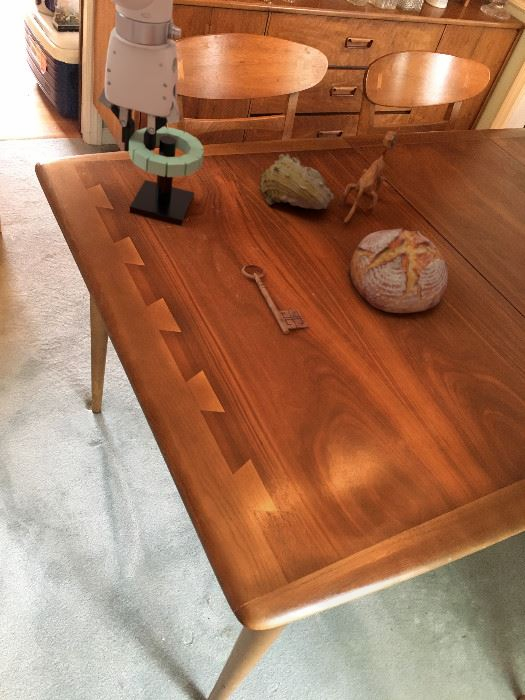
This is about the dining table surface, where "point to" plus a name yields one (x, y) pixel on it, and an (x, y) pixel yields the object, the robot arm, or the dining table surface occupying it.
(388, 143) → the dinosaur figurine
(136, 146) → the ring
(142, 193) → the post
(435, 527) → the dining table surface
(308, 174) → the seashell
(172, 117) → the robot arm
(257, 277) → the key
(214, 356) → the dining table surface
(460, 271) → the dining table surface
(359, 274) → the bread
